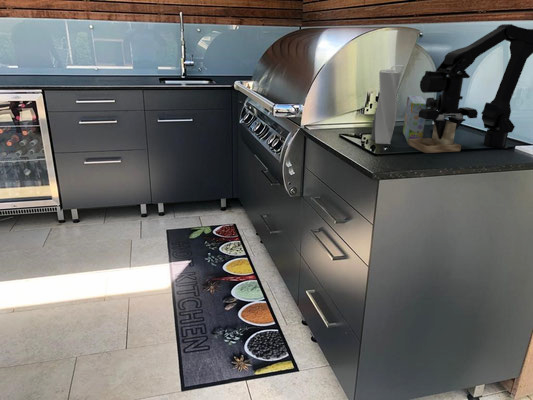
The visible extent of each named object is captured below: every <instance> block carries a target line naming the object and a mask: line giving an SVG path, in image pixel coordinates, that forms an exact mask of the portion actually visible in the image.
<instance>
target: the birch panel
mask: <svg viewBox="0 0 533 400" xmlns="http://www.w3.org/2000/svg"><path fill="white" fill-rule="evenodd" d="M455 129H456V123H453V122H450V121H449V120H447V121H446V124H445V128H444V132H443V136H442V138H441V139H439V138H438V134H437V130H436V126H435V123H434V122H433V129H432V136H431V138H432V140H434V141H436V142H439V143H441V144H443V145H453V143H454V140H455V134H456V131H455ZM456 130H457V129H456Z"/></svg>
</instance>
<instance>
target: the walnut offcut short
mask: <svg viewBox="0 0 533 400" xmlns="http://www.w3.org/2000/svg"><path fill="white" fill-rule="evenodd" d="M418 142H420V143H422V144H424V145H426V146H434V144H433V143H431V142H428V141H425V140H423V141H418Z"/></svg>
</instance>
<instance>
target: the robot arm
mask: <svg viewBox="0 0 533 400" xmlns="http://www.w3.org/2000/svg"><path fill="white" fill-rule="evenodd" d="M504 41H506V42H509V43H510V44H509V52H510V54H509V55H510V57H509V59H508V62H507V65H506V68H505V70H504V72H503V75H502V78H501V81H500V83H499V86H498V89H497V91H496V93H495V95H494V98H493V100H491V101H490V102H485V104H484V107H483V109H482V112H480V114H481V121H482V123H483V128H484V129H487V130H486V133H485V134H484V139H483V146H485V147H487V148H488V147H489V148H490V147H491V148H498V149H499V148H500V149H503V150H509V146H506V145H507V140H508V135H509V133H513V132H514V130H515V127H516V126H515V124H514V123H513V122H512V120H511V119H510V117H511V113H512V108H511V100H512V97H513V96H514V92H515V90H516V88H517V85H518V83H519V81H520V78H521V75H522V72H523V71H524V67H525V65H526V63H527V60H528V58H530V56H531V55H532V54H533V28H525V27H519V26H517V25H514V24H512V23H509V24H507V23H506V24H500V25H498V26H497V27H496V28H495V29H493V30H492V31H490V32H489V33H487V34H485V35H484V36H482V37H480V38H479V39H477V40H476V41H474V42H472V43H471V44H468V45H467V46H464V47H460V48H457V49H454V50H452V51H449V52H448V53H446V54H445V56H444V59H443V61H442V62H441V64H439V66H438V67H437V69H436V70H435V71H431V70H426V71H424V74H423V76H422V77H421V80H420V81H419V88H420V91H421V93H423V94H427V93H428V94H429V93H430V94H432V93H433V94H434V93H436V94H437V93H440V94H439V95H438V98H436V99H435V98H434V97H427V98H426V100H425V101H426V107H427V109H421V110H420V111H419V116H418V117H420V118H423V119H426V120H425V121H428V120H429V121H433V124H434V123H435V126H436V130H437V134H438V138H439V139H441V138H442V136H443V132H444V128H445V124H446V121H450V122H453V123H456V129H455V132H456V130H458V128H459V127H460V126H461V125H462V123H463V122H465V121H466V118H464V116H465V117H466V116H467V118H468V119H478V114H479V113H478V110H477V109H476V108H473V107H459V106H460V100H463V97H464V96H462V95H461V94H462V90H463V89H462V88H463V87H462V86H463V82H464V79H470V75H469V74H468V73H467V71H466V70H467V69H468V68H469V67H470V66H472V65H473V63H474V62H475V60H476V59H477V58H478V57H480V56H481V55H483V54H485V53H486V52H488V51H490V50H491V49H492V48H494V47H496V46H497V45H499V44H501V43H502V42H504ZM445 117H448V119H447V120H446V119H445Z"/></svg>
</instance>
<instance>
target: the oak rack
mask: <svg viewBox="0 0 533 400" xmlns="http://www.w3.org/2000/svg"><path fill="white" fill-rule="evenodd" d="M423 140H425V141H428V142H431V143H433V144H434V146H426V145H424V144H422V143H420V142H418V141H423ZM407 146H410V147H412V148H414V149H415V150H418V151H420V152H422V153H425V154H430V153H431V154H432V153H433V154H434V153H448V152H449V153H450V152H461V149H462V145H461V144H458V143H456V142H453V145H443V144H441V143H439V142H436V141H434V140H432V137H429V138H428V137H426V138H422V139H409V141H408V142H407Z"/></svg>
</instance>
